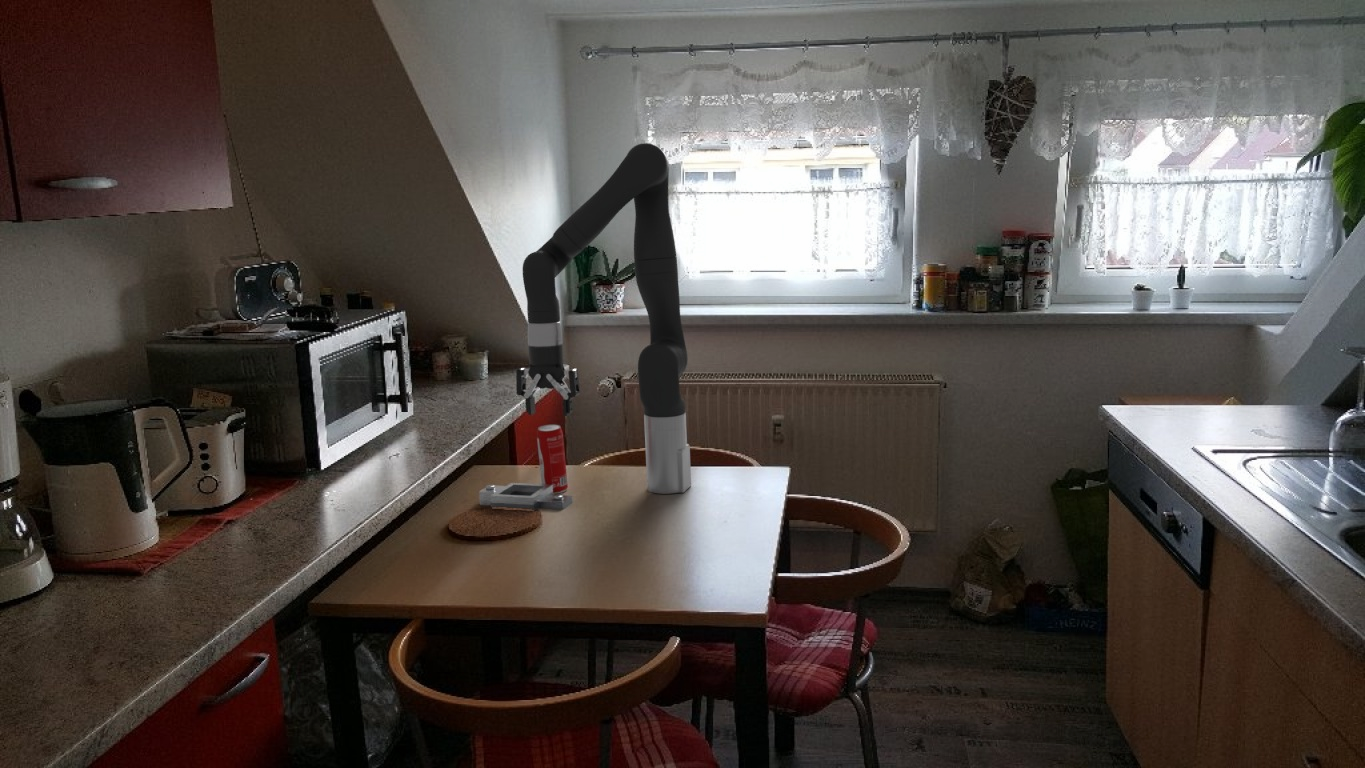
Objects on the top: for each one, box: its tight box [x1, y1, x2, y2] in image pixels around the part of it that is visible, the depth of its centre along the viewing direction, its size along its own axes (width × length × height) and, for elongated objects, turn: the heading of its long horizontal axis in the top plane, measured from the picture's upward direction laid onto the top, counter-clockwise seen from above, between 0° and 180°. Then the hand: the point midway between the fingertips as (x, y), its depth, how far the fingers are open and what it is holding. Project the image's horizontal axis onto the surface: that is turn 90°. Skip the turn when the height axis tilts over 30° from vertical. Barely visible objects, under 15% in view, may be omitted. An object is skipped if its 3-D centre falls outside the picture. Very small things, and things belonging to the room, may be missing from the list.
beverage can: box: [536, 423, 569, 495], centre depth 218 cm, size 6×6×15 cm
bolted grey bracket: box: [478, 482, 573, 511], centre depth 211 cm, size 20×10×4 cm, turn 73°
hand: (549, 414), depth 217 cm, fingers open, 8 cm apart
